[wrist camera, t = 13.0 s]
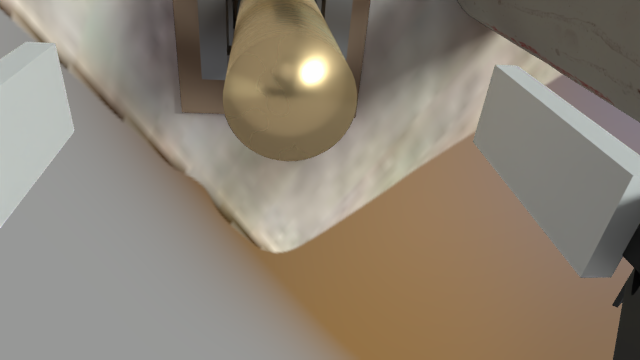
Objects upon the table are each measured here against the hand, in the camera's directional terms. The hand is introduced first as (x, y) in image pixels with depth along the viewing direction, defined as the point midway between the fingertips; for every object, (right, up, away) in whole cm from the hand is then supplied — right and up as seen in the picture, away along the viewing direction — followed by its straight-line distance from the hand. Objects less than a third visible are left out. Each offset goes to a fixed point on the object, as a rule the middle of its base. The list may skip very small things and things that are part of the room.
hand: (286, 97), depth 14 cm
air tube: (-2, +11, +18) cm, 21 cm away
